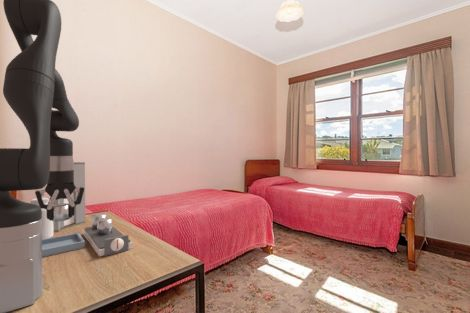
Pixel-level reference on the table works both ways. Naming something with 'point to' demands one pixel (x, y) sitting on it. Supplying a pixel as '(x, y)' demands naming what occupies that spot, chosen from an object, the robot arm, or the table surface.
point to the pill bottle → (45, 220)
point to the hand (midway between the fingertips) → (61, 218)
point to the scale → (107, 241)
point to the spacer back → (97, 217)
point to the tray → (62, 244)
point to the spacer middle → (104, 226)
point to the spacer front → (60, 212)
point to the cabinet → (80, 208)
